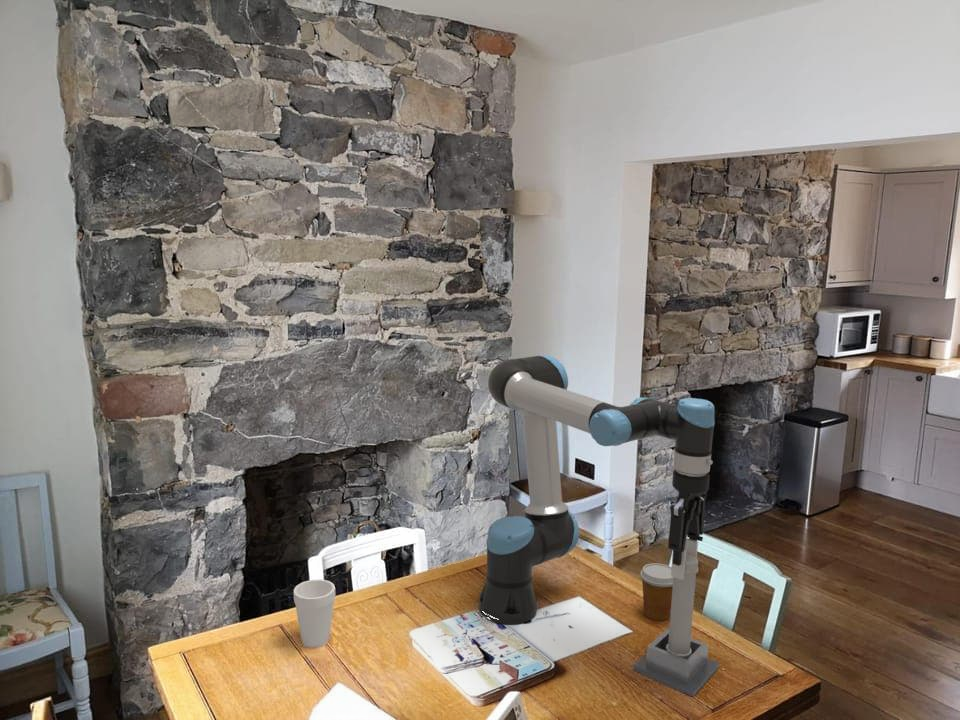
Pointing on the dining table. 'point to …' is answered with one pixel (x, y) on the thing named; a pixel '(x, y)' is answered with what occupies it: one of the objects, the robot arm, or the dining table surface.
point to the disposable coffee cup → (657, 590)
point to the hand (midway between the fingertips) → (683, 572)
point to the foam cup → (314, 611)
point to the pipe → (682, 610)
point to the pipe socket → (677, 665)
